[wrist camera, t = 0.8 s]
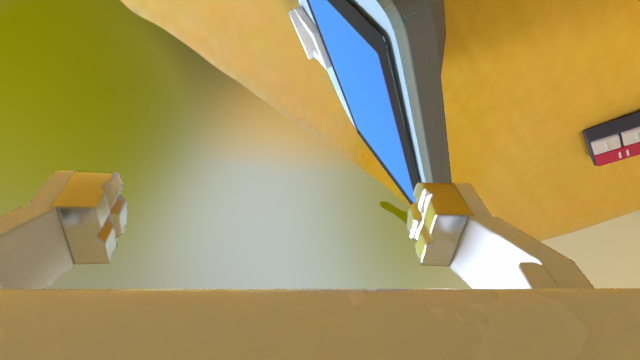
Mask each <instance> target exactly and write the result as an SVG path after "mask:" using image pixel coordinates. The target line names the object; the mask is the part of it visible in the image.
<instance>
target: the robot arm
mask: <svg viewBox="0 0 640 360" xmlns="http://www.w3.org/2000/svg"><path fill="white" fill-rule="evenodd" d="M122 188H123V184H122V180H121V176H120V175H119V174H118V173H111V172H91V171H68V170H58V171H54V172H53V173H52V174H51V176H50V177H49V178H48V179H47V181H46V182H45V183H44V184H43V186H42V187H41V188H40V190H39V191H38V192H37V193H36V195H35V196H34V197H33V198H32V200H31V201H30V202H29V203H28V205H27V206H26V207H18V208H16V209H14V210H11V211H9V212H7V213H5V214H3V215H1V216H0V360H640V289H595V288H594V287H593V285H592V284H591V283H590V282H589V280H588V279H587V278H586V276H585V275H584V274H583V273H582V271H581V270H580V269H579V268H578V266H577V265H576V264H575V262H574V261H572V260H570V259H569V258H567V257H565V256H564V255H562V254H560V253H558V252H557V251H555V250H553V249H552V248H550V247H548V246H546V245H545V244H543V243H541V242H540V241H538V240H536V239H534V238H533V237H531V236H529V235H528V234H526V233H524V232H522V231H521V230H519V229H517V228H516V227H514V226H512V225H511V224H509V223H507V222H505V221H504V220H502V219H500V218H499V217H492V215H491V214H490V212H489V211H488V209H487V208H486V206H485V205H484V203H483V202H482V200H481V199H480V197H479V196H478V194H477V193H476V191H475V190H474V188H473V187H472V185H471V184H469V183H418V182H417V184H416V186H415V188H414V192H413V196H414V198H415V202H414V203H413V204H412V205H411V206H410V207H409V211H408V215H407V227H408V232H409V235H410V238H411V239H413V240H414V241H415V242H416V246H415V251H416V254H417V256H418V259H419V261H420V264H421V265H423V266H450V268H451V269H452V270H453V271H454V272H455V273H456V274H457V275H459V277H461V278H462V279H463V280H464V281H465V282H466V283H467V284H468V285H469V286H470V287H471V288H472V289H46V288H47V287H48V286H50V285H51V284H52V283H53V282H55V281H56V280H57V279H58V278H60V277H61V276H62V275H63V274H65V273H66V272H67V271H69V270H70V269H71V268H72V267H74V264H109V263H110V261H111V259H112V257H113V254H114V252H115V250H116V248H117V241H116V238H117V237H119V236H120V235H122V234H123V232H124V229H125V227H126V222H127V204H126V200H125V199H124V198H123V197H122V196H121V195H120V192H121V190H122Z"/></svg>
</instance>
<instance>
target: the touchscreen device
mask: <svg viewBox="0 0 640 360" xmlns="http://www.w3.org/2000/svg"><path fill="white" fill-rule="evenodd" d="M298 1H299V4H300V7H299V8H295V9H292V10H291V11H289V15H290V18H291V20H292V22H293V25H294V27H295V29H296V31H297V34H298V36H299V38H300V40H301V43H302V45H303V47H304V50H305V52H306V54H307V56H308V58H309V59H312V58H313V57H315V58H316V59H317V60H318V61H319V62H320V63H321V64H322V65H323V66H324V67H325V68H326V69H327V71H328V74H329V76H330V78H331V81H332V83H333V85H334V88H335V90H336V92H337V95H338V97H339V99H340V101H341V104H342V106H343V107H344V109H345V110H346V112H347V115H348V117H349V119H350V120H351V122H352V124H353V125H354V127H355V128H356V130H357V132H358V134H359V135H360V137H361V138H362V140H363V141H364V142H365V144H366V145H367V146H368V148H369V149H370V150H371V152H372V153H373V154H374V156H375V157H376V158H377V160H378V161H379V162H380V164H381V165H382V167H383V168H384V169H385V171H386V172H387V173H388V175H389V176H390V177H391V179H392V180H393V181H394V183H395V184H396V185H397V187H398V188H399V189H400V191H401V192H402V193H403V195H404V196H405V198H406V199H407V200H408V202H409V203H410V204H411V205H412V204H413V203H414V202H415V198H414V196H413V192H414V188H415V186H416V184H417V182H418V183H452V181H451V171H450V162H449V152H448V142H447V133H446V123H445V113H444V103H443V94H442V84H441V70H442V62H443V54H444V46H445V38H446V27H445V15H444V2H443V0H298Z"/></svg>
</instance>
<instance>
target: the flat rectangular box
mask: <svg viewBox="0 0 640 360" xmlns="http://www.w3.org/2000/svg"><path fill="white" fill-rule="evenodd" d="M583 134H584V137H585V140H586V144H587V147H588V151H589V154H590V157H591V159H592V161H593V164H594V165H595V166H596V165H597V166H602V165H605V164H608V163H612V162H615V161H619V160H622V159H626V158H629V157H632V156H636V155H639V154H640V112H637V113H634V114H631V115H628V116H625V117H622V118H619V119H616V120H613V121H610V122H607V123H604V124H601V125H598V126H595V127H592V128H589V129H586V130H584V131H583Z"/></svg>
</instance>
